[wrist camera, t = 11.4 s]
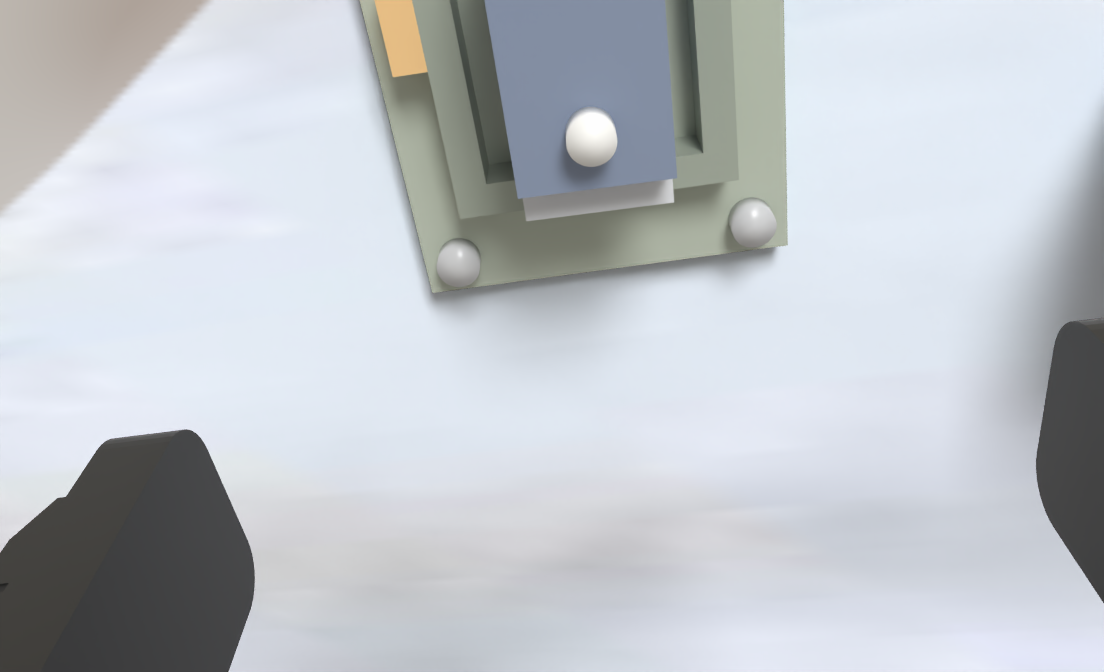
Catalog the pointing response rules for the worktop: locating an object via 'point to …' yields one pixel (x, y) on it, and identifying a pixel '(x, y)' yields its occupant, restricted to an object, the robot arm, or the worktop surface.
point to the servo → (585, 103)
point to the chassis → (595, 238)
